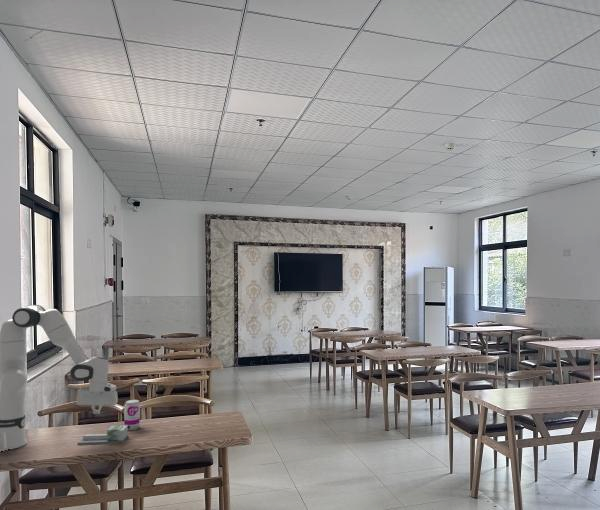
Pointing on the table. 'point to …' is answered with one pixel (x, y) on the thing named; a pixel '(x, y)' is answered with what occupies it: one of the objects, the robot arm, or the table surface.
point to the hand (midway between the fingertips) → (96, 413)
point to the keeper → (113, 432)
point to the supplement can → (132, 414)
